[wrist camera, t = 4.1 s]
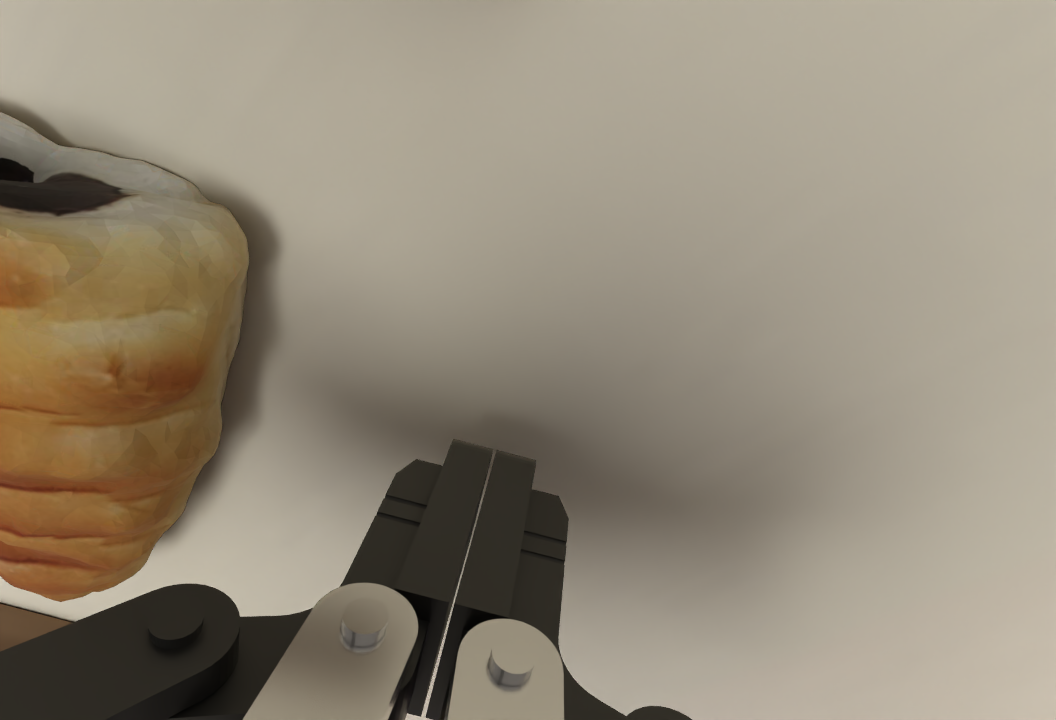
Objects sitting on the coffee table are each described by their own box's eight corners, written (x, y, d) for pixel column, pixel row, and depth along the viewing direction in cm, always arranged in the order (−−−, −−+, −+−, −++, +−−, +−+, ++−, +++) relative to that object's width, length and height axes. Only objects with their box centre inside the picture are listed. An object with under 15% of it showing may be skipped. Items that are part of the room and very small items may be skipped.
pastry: (231, 577, 16) (122, 728, 12) (-50, 486, 15) (-242, 614, 12) (285, 189, 11) (141, 253, 8) (-101, 59, 11) (-418, 66, 8)
